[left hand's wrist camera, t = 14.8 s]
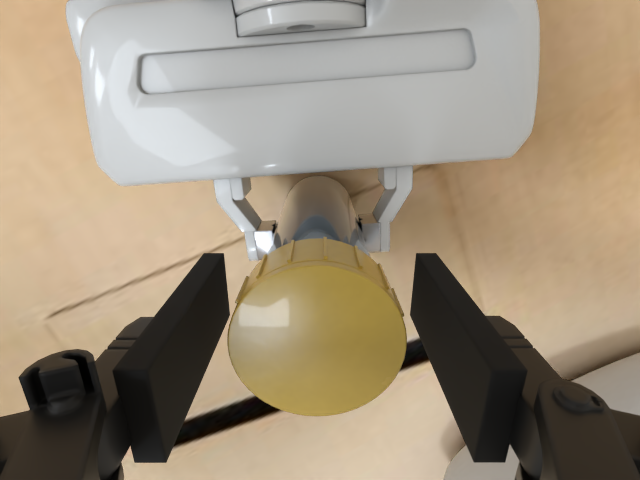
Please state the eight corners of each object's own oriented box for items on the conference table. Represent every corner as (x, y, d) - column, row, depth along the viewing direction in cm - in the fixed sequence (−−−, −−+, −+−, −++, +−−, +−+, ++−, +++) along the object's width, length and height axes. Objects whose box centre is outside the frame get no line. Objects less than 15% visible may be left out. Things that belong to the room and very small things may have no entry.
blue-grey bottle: (277, 229, 26) (227, 380, 12) (294, 166, 24) (260, 250, 10) (340, 247, 26) (364, 412, 12) (360, 186, 25) (416, 293, 11)
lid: (227, 350, 13) (210, 396, 11) (261, 217, 12) (248, 241, 10) (364, 383, 14) (372, 433, 12) (416, 260, 12) (436, 293, 10)
